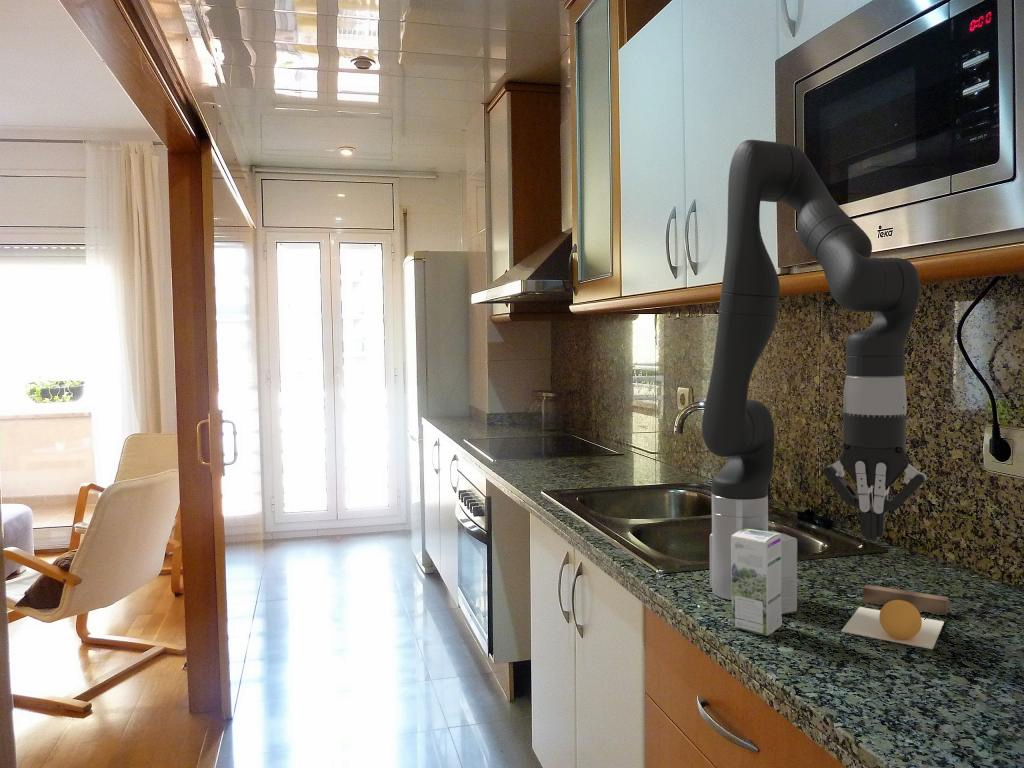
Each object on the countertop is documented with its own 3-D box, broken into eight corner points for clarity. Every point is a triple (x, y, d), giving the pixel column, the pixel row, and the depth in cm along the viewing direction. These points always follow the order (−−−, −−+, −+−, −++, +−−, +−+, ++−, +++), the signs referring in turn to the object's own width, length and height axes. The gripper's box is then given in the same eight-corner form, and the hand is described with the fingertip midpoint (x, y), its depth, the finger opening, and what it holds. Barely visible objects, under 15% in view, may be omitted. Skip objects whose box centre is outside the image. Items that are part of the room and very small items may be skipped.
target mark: (841, 631, 115) (841, 630, 115) (859, 608, 124) (859, 606, 124) (932, 649, 108) (932, 647, 108) (944, 622, 117) (944, 621, 117)
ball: (879, 616, 116) (867, 628, 112) (896, 587, 114) (884, 599, 110) (915, 639, 113) (904, 653, 109) (933, 610, 111) (922, 623, 107)
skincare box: (752, 603, 128) (751, 532, 127) (773, 600, 129) (772, 529, 128) (776, 615, 122) (776, 541, 121) (798, 611, 123) (798, 537, 123)
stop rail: (863, 602, 127) (863, 587, 127) (865, 599, 129) (865, 584, 128) (946, 616, 120) (946, 600, 120) (948, 612, 122) (948, 597, 121)
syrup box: (782, 626, 118) (782, 532, 117) (766, 637, 113) (766, 540, 112) (747, 617, 121) (747, 526, 121) (730, 628, 117) (729, 534, 116)
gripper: (814, 410, 103) (813, 538, 104) (926, 414, 95) (923, 553, 96) (828, 405, 109) (827, 526, 110) (935, 409, 101) (932, 540, 102)
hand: (872, 539), depth 103 cm, fingers closed
